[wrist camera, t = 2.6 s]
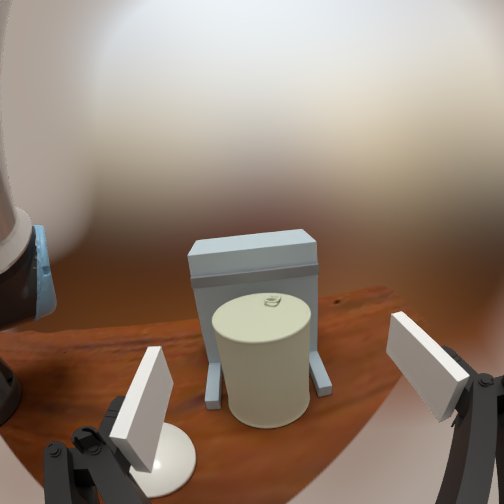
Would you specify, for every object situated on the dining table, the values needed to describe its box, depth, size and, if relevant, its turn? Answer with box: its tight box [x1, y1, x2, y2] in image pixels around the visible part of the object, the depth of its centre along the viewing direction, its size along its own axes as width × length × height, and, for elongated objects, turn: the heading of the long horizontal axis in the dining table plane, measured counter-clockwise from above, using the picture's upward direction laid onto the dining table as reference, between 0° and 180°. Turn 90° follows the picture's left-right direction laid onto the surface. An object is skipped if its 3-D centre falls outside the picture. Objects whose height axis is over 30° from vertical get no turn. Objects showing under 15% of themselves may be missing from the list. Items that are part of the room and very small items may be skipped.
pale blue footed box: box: [188, 229, 332, 410], centre depth 32 cm, size 14×14×16 cm
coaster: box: [129, 422, 197, 498], centre depth 20 cm, size 10×10×1 cm
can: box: [212, 293, 311, 428], centre depth 27 cm, size 9×9×12 cm
